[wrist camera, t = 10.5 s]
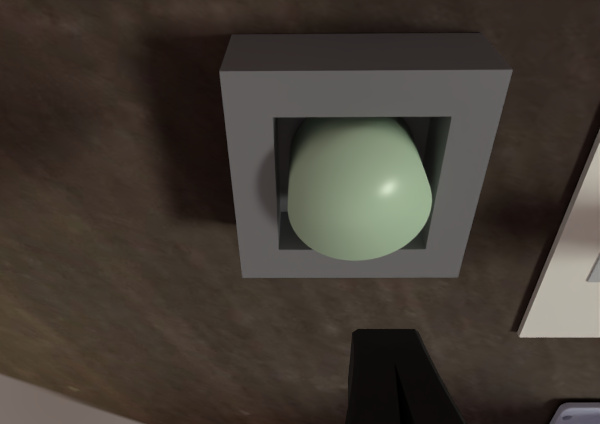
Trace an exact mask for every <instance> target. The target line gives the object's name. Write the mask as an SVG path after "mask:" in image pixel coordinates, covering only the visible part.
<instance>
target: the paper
mask: <svg viewBox="0 0 600 424" xmlns="http://www.w3.org/2000/svg"><path fill="white" fill-rule="evenodd" d="M517 334H518V336H519V337H600V129H599V132H598V134H597V137H596V139H595V142H594V144H593V147H592V149H591V152H590V154H589V157H588V159H587V161H586V164H585V166H584V169H583V171H582V174H581V176H580V179H579V181H578V184H577V186H576V189H575V191H574V193H573V196H572V198H571V201H570V203H569V206H568V208H567V211H566V213H565V216H564V218H563V221H562V223H561V225H560V228H559V230H558V233H557V235H556V238H555V240H554V243H553V245H552V248H551V250H550V253H549V255H548V257H547V260H546V262H545V265H544V267H543V270H542V272H541V275H540V277H539V280H538V282H537V285H536V287H535V289H534V292H533V294H532V297H531V299H530V302H529V304H528V307H527V309H526V312H525V314H524V317H523V319H522V321H521V324H520V326H519V329H518V331H517Z"/></svg>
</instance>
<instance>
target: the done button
mask: <svg viewBox="0 0 600 424" xmlns="http://www.w3.org/2000/svg"><path fill="white" fill-rule="evenodd" d="M431 205H432V193H431V189H430V185H429V182H428V179H427V176H426V173H425V170H424V168H423V165H422V162H421V159H420V156H419V153H418V150H417V147H416V144H415V142H414V139H413V136H412V133H411V131H410V129H409V127H408V125H407V124H406V122H405V121H404V120H403V119H402V117H308V118H307V119H306V120H305V121H304V122H303V123H302V124H301V126H300V127H299V128H298V130H297V132H296V133H295V135H294V138H293V140H292V143H291V148H290V161H289V186H288V216H289V220H290V223H291V226H292V228H293V230H294V231H295V233H296V234H297V236H298V237H299V238H300V239H301V240H302V241H303V242H304V243H305V244H306V245H307V246H308V247H310V248H312V249H313V250H315V251H317V252H319V253H321V254H323V255H325V256H328V257H332V258H336V259H341V260H350V261H359V260H369V259H374V258H379V257H382V256H385V255H388V254H390V253H392V252H395V251H397V250H398V249H400V248H402V247H403V246H405V245H406V244H408V243H409V242H410V241H411V240H412V239H414V238H415V237H416V236H417V235H418V233H419V232H420V231H421V230H422V228H423V227H424V225H425V223H426V222H427V219H428V217H429V214H430V211H431Z"/></svg>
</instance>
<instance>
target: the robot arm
mask: <svg viewBox="0 0 600 424" xmlns="http://www.w3.org/2000/svg"><path fill="white" fill-rule="evenodd" d="M345 424H467V423H466V421H465V419H464V418H463V416H462V414H461V413H460V411H459V409H458V408H457V406H456V404H455V403H454V401H453V399H452V397H451V396H450V394H449V392H448V390H447V388H446V387H445V385H444V383H443V381H442V379H441V377H440V375H439V374H438V372H437V370H436V368H435V366H434V364H433V362H432V360H431V358H430V356H429V354H428V352H427V350H426V347H425V345H424V343H423V341H422V339H421V336H420V334H419V332H418V331H416V330H415V329H357V330H356V331H354V332H352V343H351V354H350V365H349V376H348V411H347V416H346V422H345ZM550 424H600V403H564V404H562V405H560V406H559V408H558V410H557V411H556V413H555V415H554V417H553V418H552V420H551V422H550Z"/></svg>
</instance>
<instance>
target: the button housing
mask: <svg viewBox="0 0 600 424" xmlns="http://www.w3.org/2000/svg"><path fill="white" fill-rule="evenodd" d="M512 71H513V69H512V68H511V67H510V66H509V65H508V63H507V62H506V61H505V60H504V59H503V58H502V56H501V55H500V54H499V53H498V52H497V50H496V49H495V48H494V47H493V46H492V44H491V43H490V42H489V41H488V40H487V38H486V37H485V36H484V35H483V34H482V33H378V34H232V35H231V38H230V41H229V44H228V47H227V50H226V53H225V56H224V59H223V62H222V65H221V68H220V71H219V73H220V82H221V91H222V100H223V109H224V118H225V127H226V136H227V145H228V154H229V163H230V171H231V180H232V189H233V198H234V207H235V216H236V225H237V234H238V243H239V252H240V261H241V270H242V278H387V277H458V275H459V271H460V267H461V264H462V260H463V256H464V252H465V248H466V245H467V241H468V237H469V233H470V230H471V226H472V222H473V218H474V214H475V211H476V207H477V203H478V199H479V195H480V192H481V188H482V184H483V180H484V177H485V173H486V169H487V165H488V161H489V158H490V154H491V150H492V146H493V142H494V139H495V135H496V131H497V127H498V124H499V120H500V116H501V112H502V108H503V105H504V101H505V97H506V93H507V89H508V86H509V82H510V78H511V74H512ZM308 117H402V119H403V120H404V121H405V122H406V124H407V125H408V127H409V129H410V131H411V133H412V136H413V139H414V142H415V144H416V147H417V150H418V153H419V156H420V159H421V162H422V165H423V168H424V170H425V173H426V176H427V179H428V182H429V185H430V189H431V193H432V205H431V211H430V214H429V217H428V219H427V222H426V223H425V225H424V227H423V228H422V230H421V231H420V232H419V233H418V235H417V236H416V237H415V238H414V239H412V240H411V241H410V242H409V243H408V244H406V245H405V246H403V247H402V248H400V249H398V250H397V251H395V252H392V253H390V254H388V255H385V256H382V257H379V258H374V259H369V260H359V261H350V260H341V259H336V258H332V257H328V256H325V255H323V254H321V253H319V252H317V251H315V250H313V249H312V248H310V247H308V246H307V245H306V244H305V243H304V242H303V241H302V240H301V239H300V238H299V237H298V236H297V234H296V233H295V231H294V230H293V228H292V226H291V223H290V220H289V216H288V186H289V161H290V148H291V143H292V140H293V138H294V135H295V133H296V132H297V130H298V128H299V127H300V126H301V124H302V123H303V122H304V121H305V120H306V119H307V118H308Z"/></svg>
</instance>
